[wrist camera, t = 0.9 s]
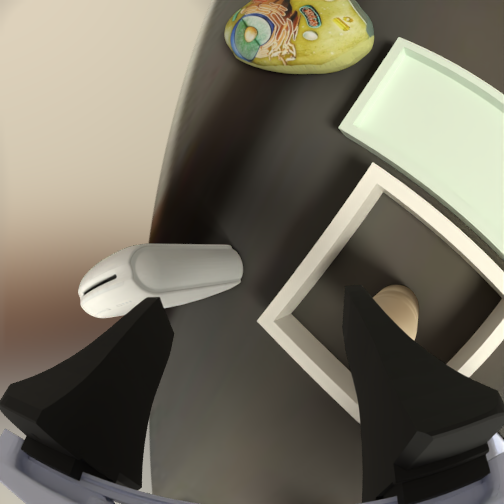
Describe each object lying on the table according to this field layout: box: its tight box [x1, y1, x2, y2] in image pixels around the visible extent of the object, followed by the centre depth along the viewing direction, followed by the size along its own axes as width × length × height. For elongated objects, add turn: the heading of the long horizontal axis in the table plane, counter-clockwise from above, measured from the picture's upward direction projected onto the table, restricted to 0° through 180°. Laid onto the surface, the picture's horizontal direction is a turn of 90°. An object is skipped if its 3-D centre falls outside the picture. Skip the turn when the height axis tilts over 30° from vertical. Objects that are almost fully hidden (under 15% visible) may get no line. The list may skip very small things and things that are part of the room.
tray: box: [338, 37, 504, 260], centre depth 15 cm, size 18×10×2 cm, turn 52°
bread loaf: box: [373, 285, 419, 341], centre depth 17 cm, size 4×4×6 cm
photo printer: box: [78, 244, 243, 318], centre depth 24 cm, size 10×4×12 cm, turn 109°
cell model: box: [224, 0, 374, 74], centre depth 20 cm, size 11×8×15 cm
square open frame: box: [257, 163, 504, 423], centre depth 18 cm, size 14×14×3 cm
